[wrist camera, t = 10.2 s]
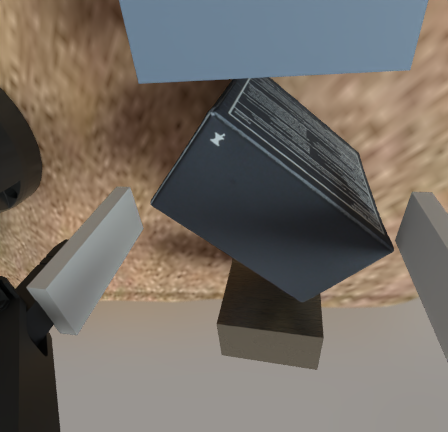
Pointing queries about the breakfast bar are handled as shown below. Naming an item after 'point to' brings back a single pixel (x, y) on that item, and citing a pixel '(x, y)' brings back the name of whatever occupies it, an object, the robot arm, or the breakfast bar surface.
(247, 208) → the small box
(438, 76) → the breakfast bar surface
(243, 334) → the bookend
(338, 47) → the standing books
